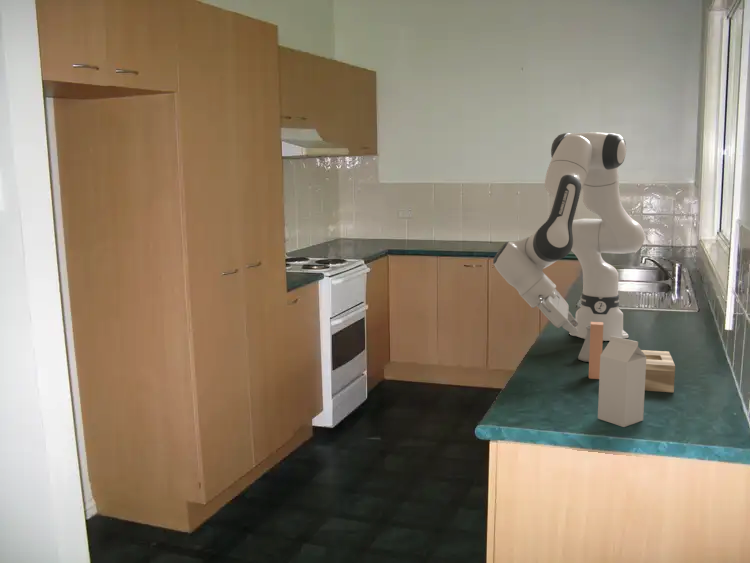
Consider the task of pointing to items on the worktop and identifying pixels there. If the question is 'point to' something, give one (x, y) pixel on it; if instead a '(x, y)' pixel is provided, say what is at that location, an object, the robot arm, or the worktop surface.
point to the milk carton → (622, 382)
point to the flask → (585, 347)
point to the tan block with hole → (659, 371)
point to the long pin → (595, 349)
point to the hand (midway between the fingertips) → (576, 329)
